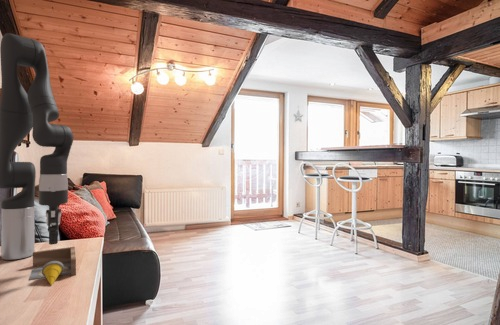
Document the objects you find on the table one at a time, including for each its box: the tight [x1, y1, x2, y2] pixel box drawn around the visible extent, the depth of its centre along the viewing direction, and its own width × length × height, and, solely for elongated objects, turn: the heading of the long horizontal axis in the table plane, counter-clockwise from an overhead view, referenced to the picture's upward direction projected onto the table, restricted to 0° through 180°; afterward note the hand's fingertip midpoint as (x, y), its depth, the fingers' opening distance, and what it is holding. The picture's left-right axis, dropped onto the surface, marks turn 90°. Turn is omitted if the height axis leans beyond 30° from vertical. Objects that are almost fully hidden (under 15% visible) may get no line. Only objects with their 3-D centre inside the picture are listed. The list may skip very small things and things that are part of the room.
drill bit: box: [42, 261, 64, 286], centre depth 87 cm, size 5×5×10 cm
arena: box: [28, 246, 77, 281], centre depth 95 cm, size 15×12×5 cm
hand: (53, 240), depth 94 cm, fingers open, 8 cm apart
